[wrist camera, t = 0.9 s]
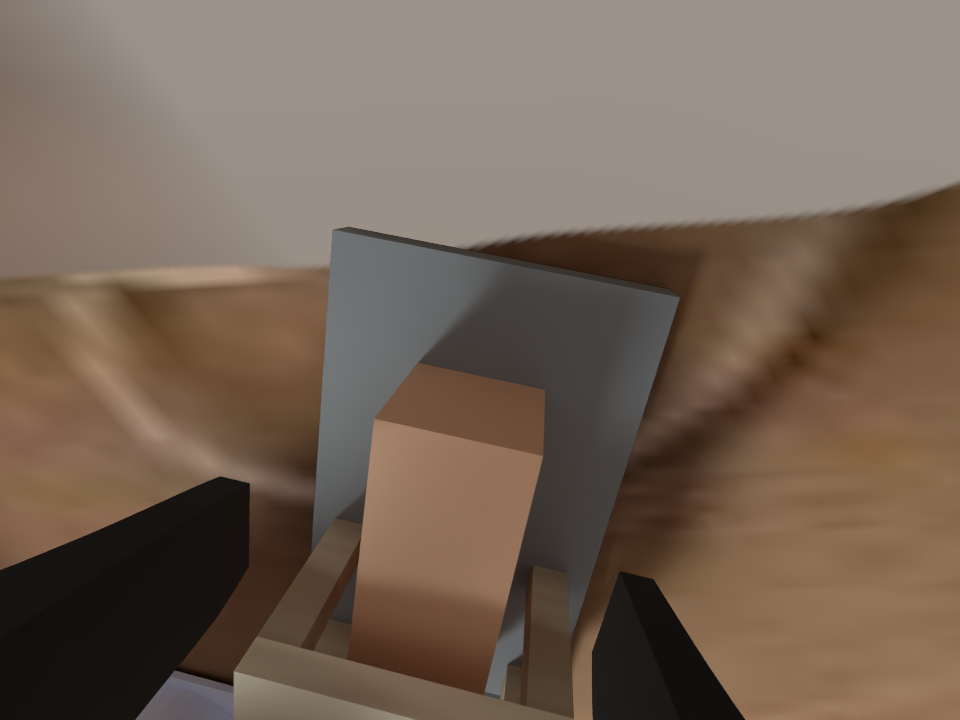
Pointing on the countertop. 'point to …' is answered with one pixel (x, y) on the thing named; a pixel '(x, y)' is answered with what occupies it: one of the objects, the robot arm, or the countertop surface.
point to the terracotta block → (444, 523)
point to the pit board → (498, 355)
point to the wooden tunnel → (381, 693)
